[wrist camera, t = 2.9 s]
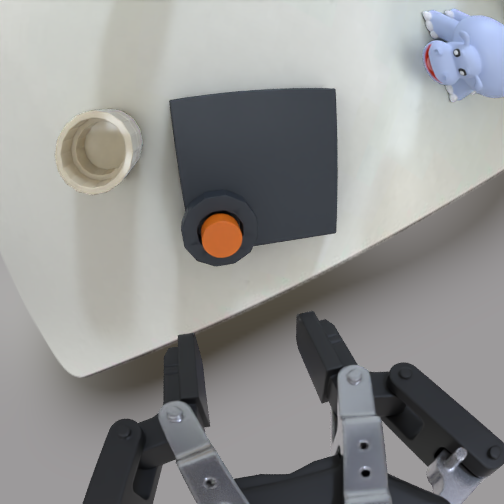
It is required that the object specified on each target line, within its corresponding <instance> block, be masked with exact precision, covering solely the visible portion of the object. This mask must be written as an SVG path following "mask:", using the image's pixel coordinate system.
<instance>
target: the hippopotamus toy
mask: <svg viewBox="0 0 504 504" xmlns="http://www.w3.org/2000/svg"><path fill="white" fill-rule="evenodd" d="M423 17H424V19H425V20H426V27H427V29H428V30H429V31H430V34H431V36H432V37H433V38H442V39H444V40H445V41H447V43H445V42H443V41H439V40H434V41H431V42H430V43H428V44H427V45H426V46H425V47H424V49H423V63H424V66H425V69H426V71H427V73H428V74H429V76H430V77H431V78H432V79H433V80H434V81H436V82H438V83H440V84H443V85H446V89H447V91H448V92H449V98H450V101H451V102H455V101H456V100H462V99H463V98H465V97H466V96H467V95H469V94H475V93H479V94H481V95H483V96H486V97H490V98H500V97H504V25H503V24H501V23H500V22H498V21H496V20H495V19H492V18H490V17H486V16H469V15H467V14H465V13H463V12H461V11H459V10H457V9H452V10H446V11H445V15H444V14H442V13H440V12H437V11H435V10H430V11H429V12H427V11H424V12H423Z"/></svg>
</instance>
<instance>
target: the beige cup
mask: <svg viewBox="0 0 504 504" xmlns="http://www.w3.org/2000/svg"><path fill="white" fill-rule="evenodd" d="M142 146H143V141H142V135H141V130H140V128H139V126H138V125H137V123H136V121H135V120H134V119H133V118H132V117H131V116H130V115H128V114H127V113H125V112H124V111H121V110H115V109H100V110H92V111H89V112H85V113H82V114H78V115H77V116H75V117H74V118H73V119H72V120H71V121H69V122H68V123H67V124H66V125H65V126H64V128H63V130H62V131H61V133H60V135H59V137H58V139H57V143H56V150H55V160H56V165H57V169H58V172H59V174H60V175H61V177H62V178H63V180H64V181H65V183H66V184H67V185H69V186H70V187H72V188H73V189H75V190H76V191H78V192H80V193H85V194H90V195H96V194H101V193H105V192H108V191H110V190H111V189H113V188H114V187H116V186H117V185H118V184H120V183H121V182H122V181H123V179H124V178H125V177H126V176H127V174H128V173H129V172H130V171H131V170H132V168H133V167H134V165H135V164H136V163H137V161H138V160H139V158H140V155H141V150H142Z"/></svg>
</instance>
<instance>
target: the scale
mask: <svg viewBox="0 0 504 504" xmlns="http://www.w3.org/2000/svg"><path fill="white" fill-rule="evenodd" d="M169 102H170V111H171V119H172V126H173V134H174V141H175V148H176V155H177V162H178V169H179V175H180V182H181V188H182V194H183V200H184V206H185V214H184V217H183V219H182V225H181V231H182V236H183V241H184V246H185V248H186V249H187V250H188V251H189V253H190V254H191V255H192V256H193V257H194V258H195V259H196V260H197V261H200V262H203V263H206V264H209V265H212V266H222V265H228V264H234V263H236V262H237V261H239V260H240V259H241V258H243V257H244V256H246V255H247V254H248V253H249V252H251V250H252V248H253V246H258V245H264V244H270V243H276V242H283V241H289V240H295V239H302V238H308V237H314V236H321V235H327V234H333V233H336V222H337V115H336V92H335V89H330V88H293V89H266V90H250V91H238V92H227V93H218V94H209V95H201V96H194V97H187V98H181V99H174V100H170V101H169ZM217 213H225V214H228V215H230V216H232V217H233V218H234V219H235V220H236V221H237V223H238V225H239V228H240V230H241V233H242V244H241V246H240V248H239V249H238V251H237V252H236V253H234V254H233V255H231V256H229V257H225V258H217V257H214V256H212V255H210V254H208V253H207V252H206V251H205V249H204V247H203V245H202V237H201V228H202V225H203V223H204V221H205V220H206V219H207V218H208V217H210V216H211V215H214V214H217Z"/></svg>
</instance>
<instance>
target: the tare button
mask: <svg viewBox="0 0 504 504" xmlns="http://www.w3.org/2000/svg"><path fill="white" fill-rule="evenodd" d="M201 237H202V245H203V247H204V249H205V251H206V252H207V253H208V254H210V255H212V256H214V257H217V258H225V257H229V256H231V255H233V254H234V253H236V252H237V251H238V249H239V248H240V246H241V244H242V233H241V230H240V228H239V225H238V223H237V221H236V220H235V219H234V218H233V217H232V216H230V215H228V214H225V213H217V214H214V215H211V216H210V217H208V218H207V219H206V220H205V221H204V223H203V225H202V228H201Z"/></svg>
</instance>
